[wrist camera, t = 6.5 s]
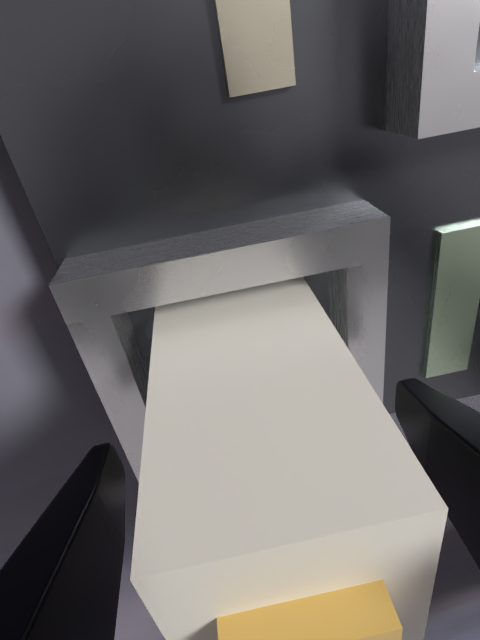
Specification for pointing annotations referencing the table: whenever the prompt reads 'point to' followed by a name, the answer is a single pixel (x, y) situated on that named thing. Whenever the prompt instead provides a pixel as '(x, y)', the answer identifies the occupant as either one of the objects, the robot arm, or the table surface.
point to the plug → (276, 481)
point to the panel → (253, 172)
